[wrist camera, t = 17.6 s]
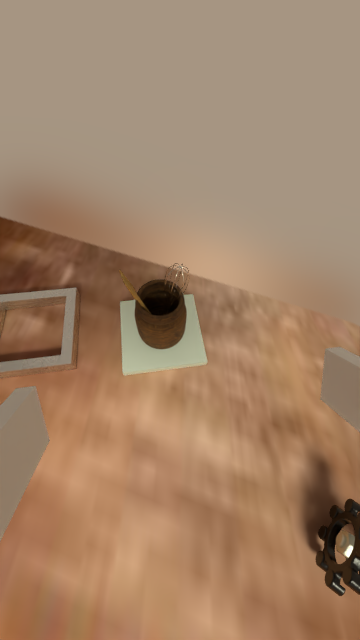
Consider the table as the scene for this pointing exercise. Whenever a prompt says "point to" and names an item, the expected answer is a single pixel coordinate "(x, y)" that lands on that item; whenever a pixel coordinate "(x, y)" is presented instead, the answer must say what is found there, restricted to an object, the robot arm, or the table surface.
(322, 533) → the valve
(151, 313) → the utensil holder
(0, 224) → the table surface
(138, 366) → the green tile
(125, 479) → the table surface
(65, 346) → the grey square frame
